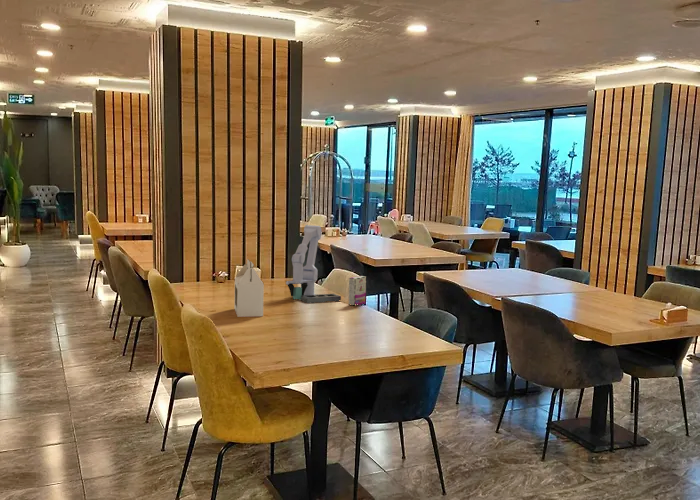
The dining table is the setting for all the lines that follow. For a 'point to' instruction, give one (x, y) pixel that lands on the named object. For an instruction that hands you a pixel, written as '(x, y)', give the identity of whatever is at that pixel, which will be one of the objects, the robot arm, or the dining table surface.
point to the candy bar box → (357, 290)
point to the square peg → (297, 293)
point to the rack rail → (320, 298)
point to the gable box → (248, 292)
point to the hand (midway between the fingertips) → (297, 295)
